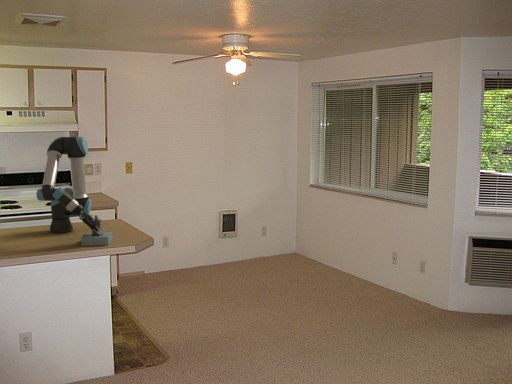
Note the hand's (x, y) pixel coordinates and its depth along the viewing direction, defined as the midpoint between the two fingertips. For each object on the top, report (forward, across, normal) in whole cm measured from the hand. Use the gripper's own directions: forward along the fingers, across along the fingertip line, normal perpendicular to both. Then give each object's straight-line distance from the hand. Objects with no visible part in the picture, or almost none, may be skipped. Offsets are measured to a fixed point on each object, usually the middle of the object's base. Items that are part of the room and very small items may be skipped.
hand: (103, 233), depth 362 cm
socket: (+1, 0, -7) cm, 7 cm away
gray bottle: (0, 0, -5) cm, 5 cm away
